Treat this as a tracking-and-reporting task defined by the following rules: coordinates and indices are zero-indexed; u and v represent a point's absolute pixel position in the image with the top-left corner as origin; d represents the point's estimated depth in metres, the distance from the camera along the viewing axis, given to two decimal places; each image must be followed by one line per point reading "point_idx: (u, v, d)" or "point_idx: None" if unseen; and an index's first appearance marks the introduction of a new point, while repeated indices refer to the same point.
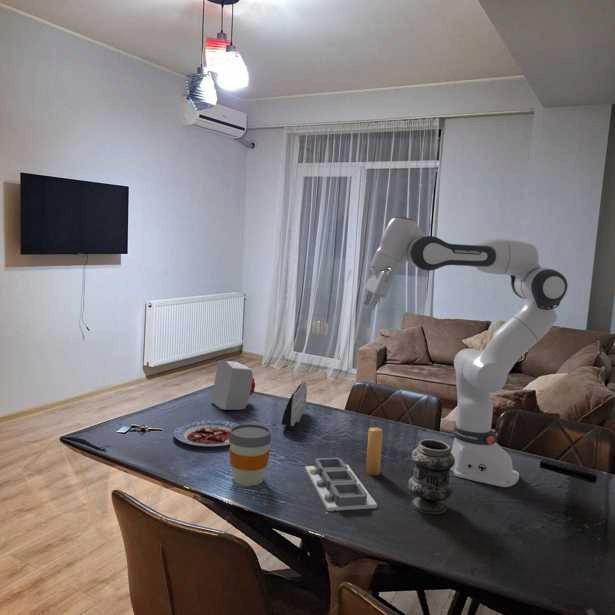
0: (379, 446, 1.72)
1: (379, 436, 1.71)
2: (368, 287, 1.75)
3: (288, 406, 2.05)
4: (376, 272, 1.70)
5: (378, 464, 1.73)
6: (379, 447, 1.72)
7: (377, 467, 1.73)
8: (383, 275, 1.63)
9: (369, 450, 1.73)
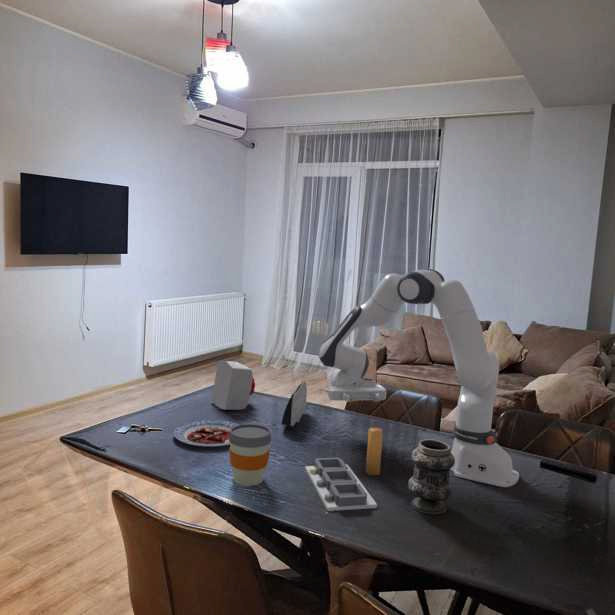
0: (379, 446, 1.72)
1: (379, 436, 1.71)
2: (365, 399, 1.90)
3: (288, 406, 2.05)
4: None
5: (378, 464, 1.73)
6: (379, 447, 1.72)
7: (377, 467, 1.73)
8: None
9: (369, 450, 1.73)
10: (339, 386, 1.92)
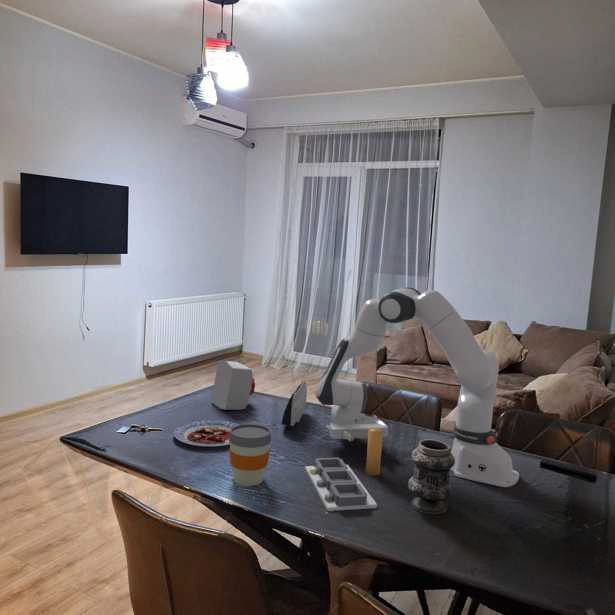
0: (379, 446, 1.72)
1: (379, 436, 1.71)
2: None
3: (288, 406, 2.05)
4: None
5: (378, 464, 1.73)
6: (379, 447, 1.72)
7: (377, 467, 1.73)
8: (329, 431, 1.91)
9: (369, 450, 1.73)
10: (340, 423, 1.91)
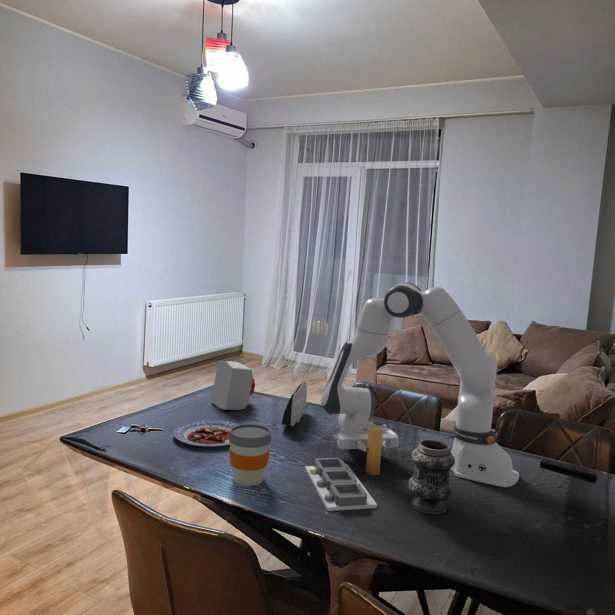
0: (379, 446, 1.72)
1: (379, 436, 1.71)
2: None
3: (288, 406, 2.05)
4: None
5: (378, 464, 1.73)
6: (379, 447, 1.72)
7: (377, 467, 1.73)
8: None
9: (369, 450, 1.73)
10: (348, 433, 1.81)
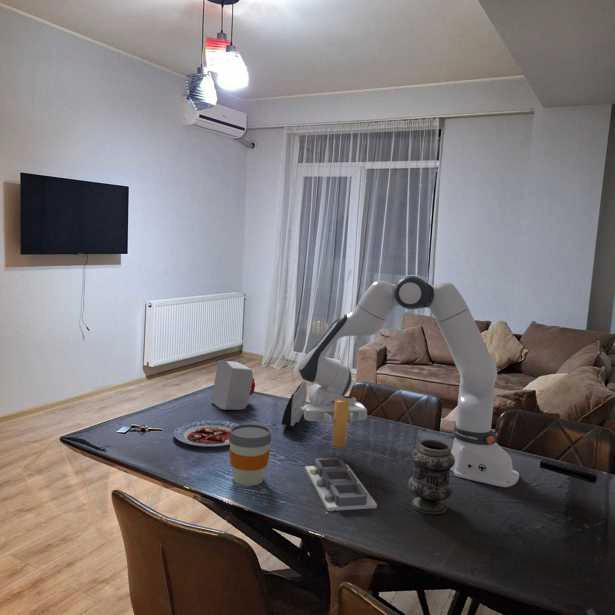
0: (345, 417, 1.68)
1: (345, 407, 1.68)
2: None
3: (288, 406, 2.05)
4: None
5: (344, 436, 1.69)
6: (345, 418, 1.69)
7: (343, 439, 1.69)
8: None
9: (335, 421, 1.69)
10: (316, 405, 1.78)
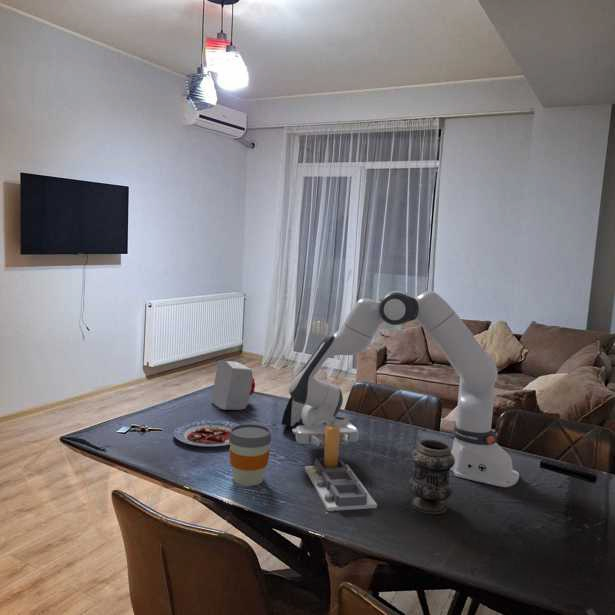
0: (336, 444, 1.69)
1: (335, 434, 1.68)
2: None
3: (288, 406, 2.05)
4: None
5: (335, 463, 1.69)
6: (336, 445, 1.69)
7: (334, 465, 1.69)
8: None
9: (326, 448, 1.69)
10: (307, 427, 1.78)
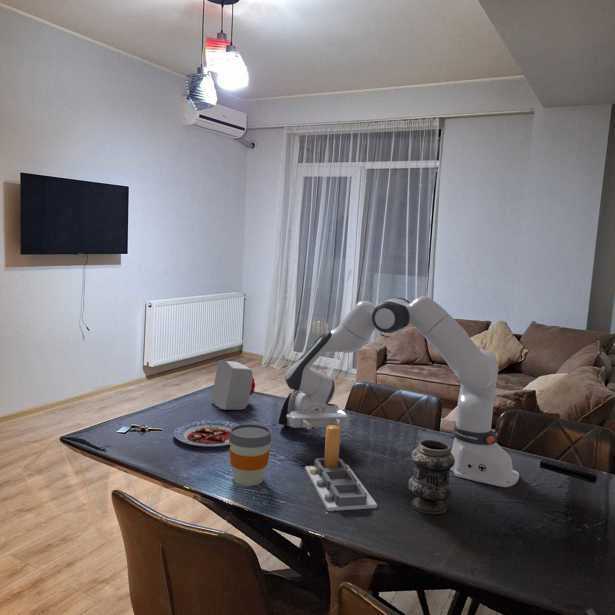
0: (336, 444, 1.69)
1: (336, 434, 1.68)
2: (326, 426, 1.88)
3: (285, 406, 2.05)
4: None
5: (335, 463, 1.70)
6: (336, 445, 1.69)
7: (334, 465, 1.69)
8: None
9: (326, 448, 1.69)
10: (300, 412, 1.91)
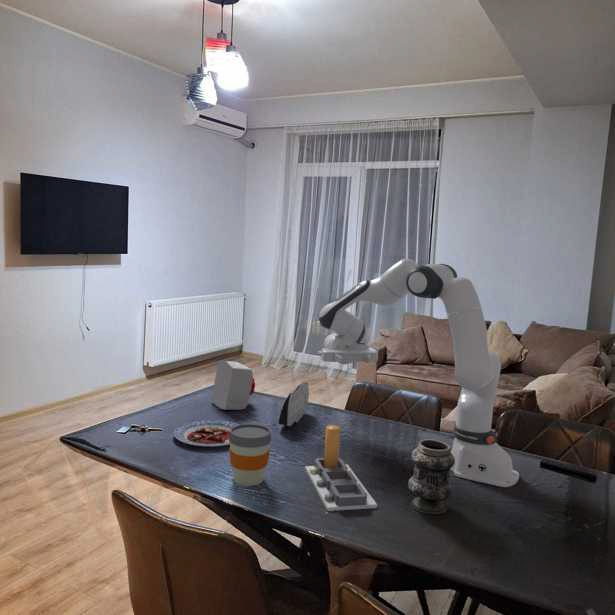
0: (336, 444, 1.69)
1: (336, 435, 1.68)
2: (357, 361, 1.95)
3: (285, 406, 2.05)
4: None
5: (335, 463, 1.69)
6: (336, 445, 1.69)
7: (334, 466, 1.69)
8: None
9: (326, 448, 1.69)
10: (332, 349, 1.97)
